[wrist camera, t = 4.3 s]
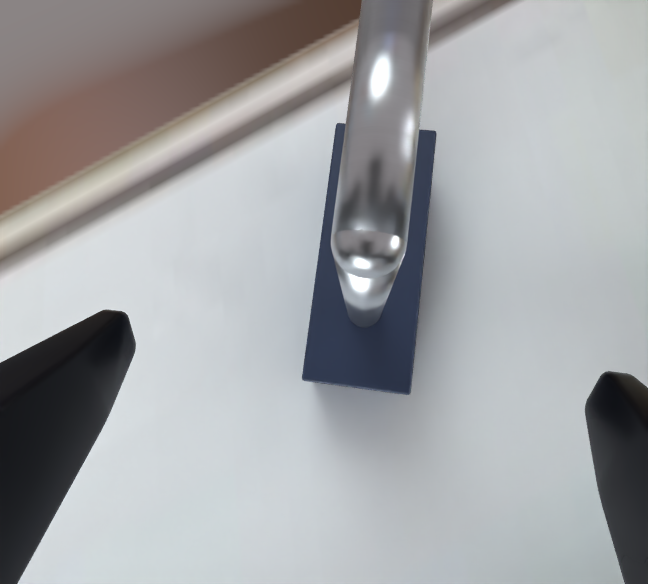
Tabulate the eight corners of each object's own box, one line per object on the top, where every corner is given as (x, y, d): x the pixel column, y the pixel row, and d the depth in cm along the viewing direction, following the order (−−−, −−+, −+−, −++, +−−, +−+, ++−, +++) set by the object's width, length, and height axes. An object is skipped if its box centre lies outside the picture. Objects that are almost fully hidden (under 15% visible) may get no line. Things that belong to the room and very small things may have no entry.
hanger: (402, 390, 17) (490, 443, 6) (311, 378, 18) (212, 402, 6) (425, 167, 19) (535, -175, 7) (339, 159, 19) (306, -178, 7)
